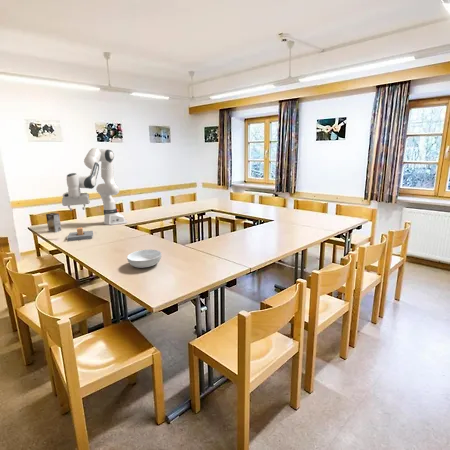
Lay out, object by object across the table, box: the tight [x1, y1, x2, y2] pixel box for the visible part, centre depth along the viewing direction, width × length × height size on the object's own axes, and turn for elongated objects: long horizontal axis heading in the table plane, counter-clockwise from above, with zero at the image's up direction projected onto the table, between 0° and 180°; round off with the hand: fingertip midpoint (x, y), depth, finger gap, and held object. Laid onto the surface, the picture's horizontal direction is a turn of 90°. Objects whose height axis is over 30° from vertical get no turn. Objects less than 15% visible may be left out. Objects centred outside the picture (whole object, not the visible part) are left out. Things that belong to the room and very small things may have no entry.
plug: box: [76, 226, 84, 235], centre depth 248 cm, size 4×5×8 cm
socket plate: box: [66, 230, 94, 242], centre depth 249 cm, size 18×16×3 cm
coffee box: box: [45, 212, 62, 233], centre depth 268 cm, size 9×6×16 cm
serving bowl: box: [126, 248, 162, 269], centre depth 187 cm, size 21×21×7 cm
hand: (77, 210), depth 247 cm, fingers open, 8 cm apart
